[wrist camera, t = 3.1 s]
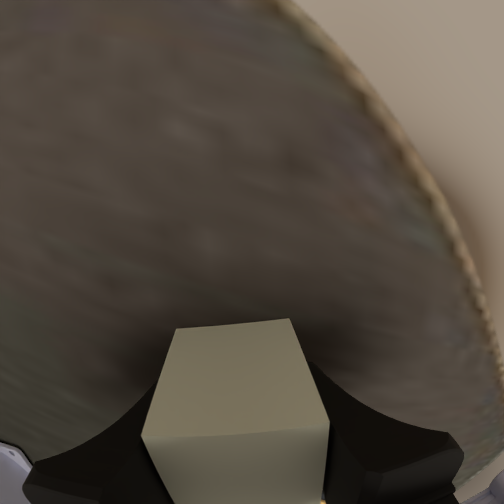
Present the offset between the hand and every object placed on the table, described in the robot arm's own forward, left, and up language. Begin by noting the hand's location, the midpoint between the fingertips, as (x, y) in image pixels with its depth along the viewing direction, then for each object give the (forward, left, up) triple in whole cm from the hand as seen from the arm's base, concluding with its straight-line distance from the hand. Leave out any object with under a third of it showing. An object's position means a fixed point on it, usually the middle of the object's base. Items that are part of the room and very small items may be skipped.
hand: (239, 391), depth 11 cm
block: (0, 0, -1) cm, 1 cm away
